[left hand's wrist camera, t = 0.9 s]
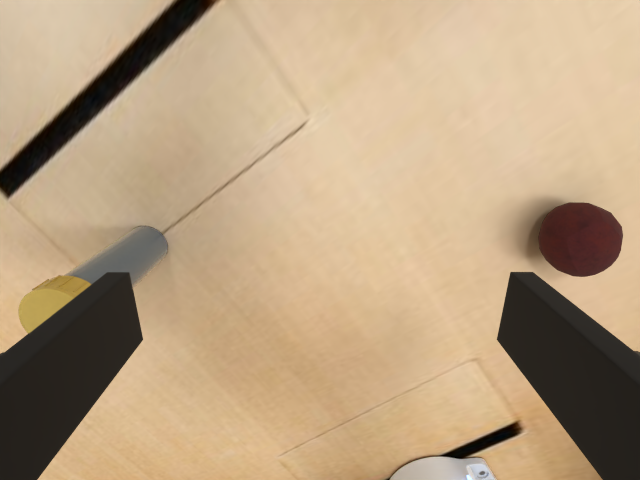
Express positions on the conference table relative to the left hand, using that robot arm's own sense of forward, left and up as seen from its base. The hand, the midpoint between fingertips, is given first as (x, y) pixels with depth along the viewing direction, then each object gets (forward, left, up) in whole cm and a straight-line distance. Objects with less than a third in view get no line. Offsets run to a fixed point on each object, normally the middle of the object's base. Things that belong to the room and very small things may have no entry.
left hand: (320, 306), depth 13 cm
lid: (+8, -20, -13) cm, 25 cm away
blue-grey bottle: (+8, -20, -28) cm, 35 cm away
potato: (+6, +27, -28) cm, 39 cm away
